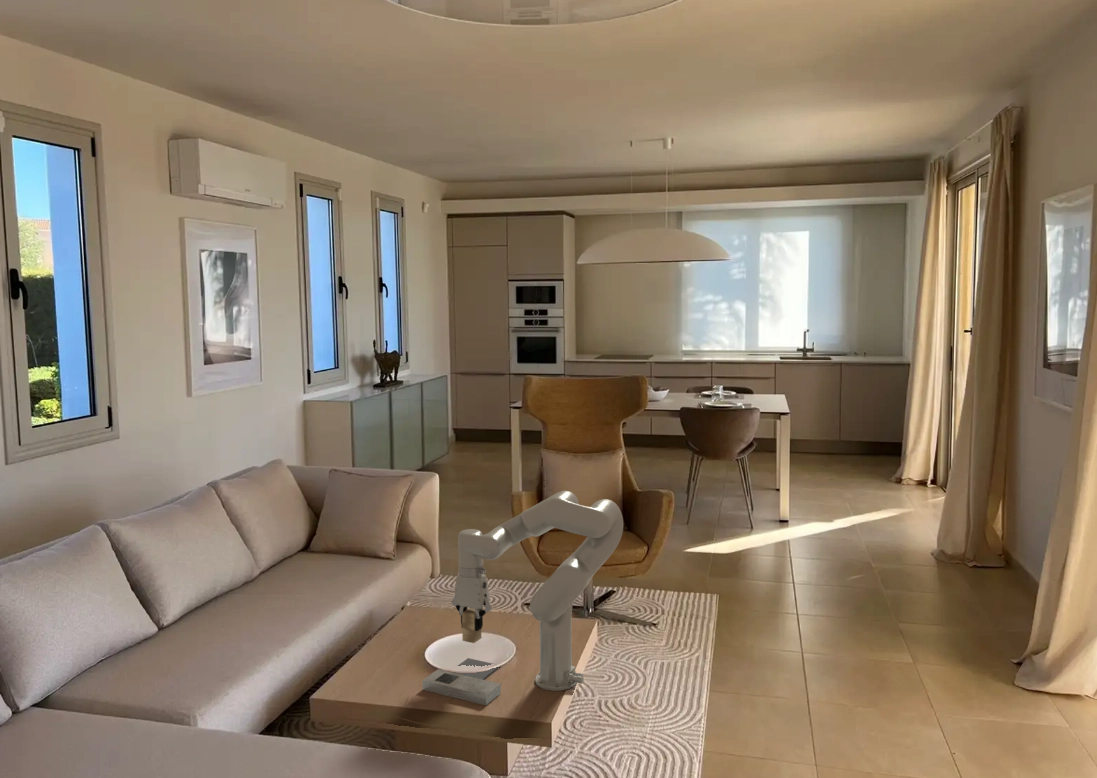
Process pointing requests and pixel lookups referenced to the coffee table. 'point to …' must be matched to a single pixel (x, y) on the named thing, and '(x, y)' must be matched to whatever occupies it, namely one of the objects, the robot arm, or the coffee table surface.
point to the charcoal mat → (479, 674)
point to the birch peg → (470, 626)
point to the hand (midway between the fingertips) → (471, 627)
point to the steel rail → (461, 687)
